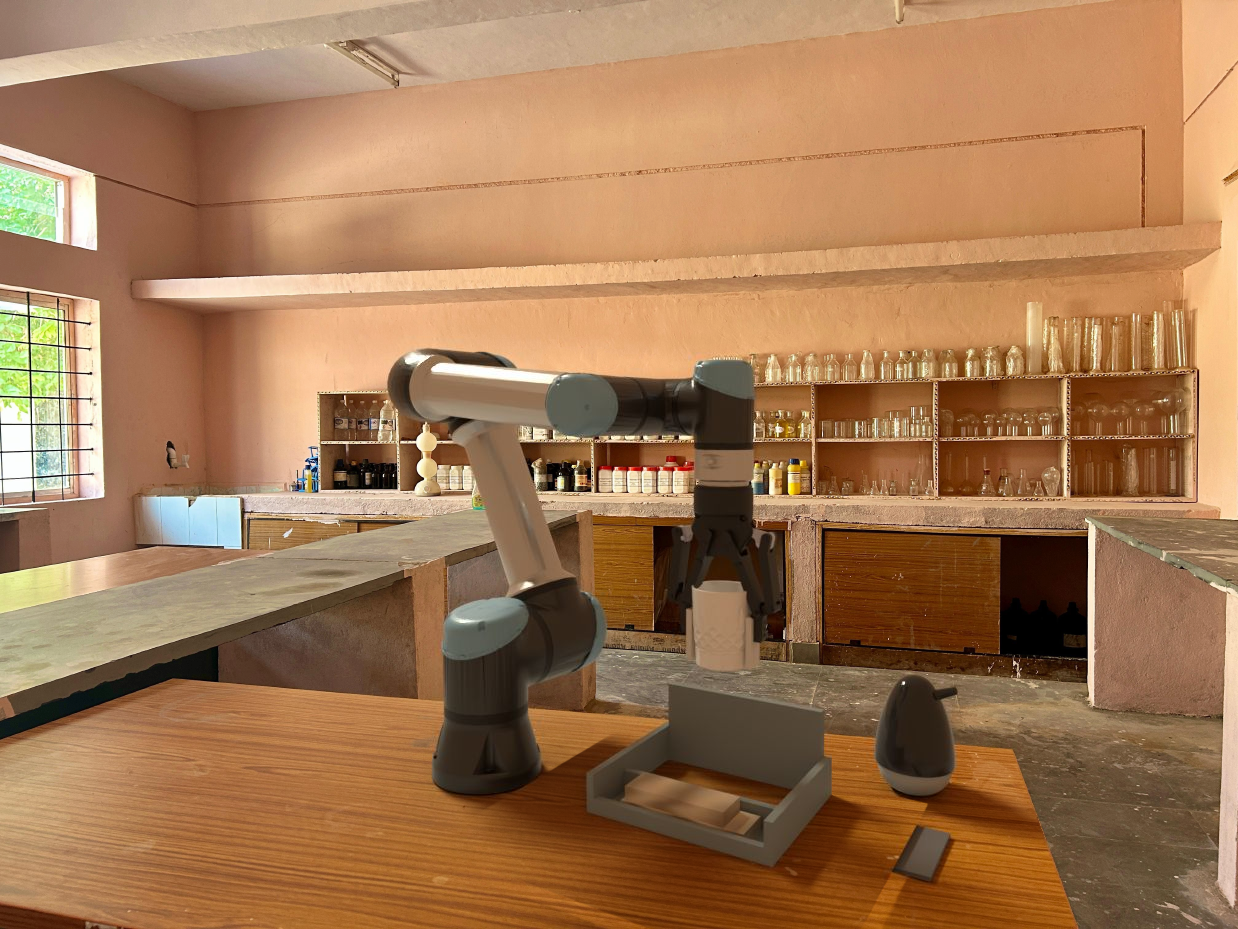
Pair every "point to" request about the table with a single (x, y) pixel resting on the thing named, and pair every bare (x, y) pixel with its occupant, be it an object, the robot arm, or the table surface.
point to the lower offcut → (739, 825)
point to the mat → (922, 853)
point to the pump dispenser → (915, 737)
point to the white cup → (720, 625)
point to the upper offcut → (683, 799)
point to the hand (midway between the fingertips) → (722, 661)
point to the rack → (726, 767)
